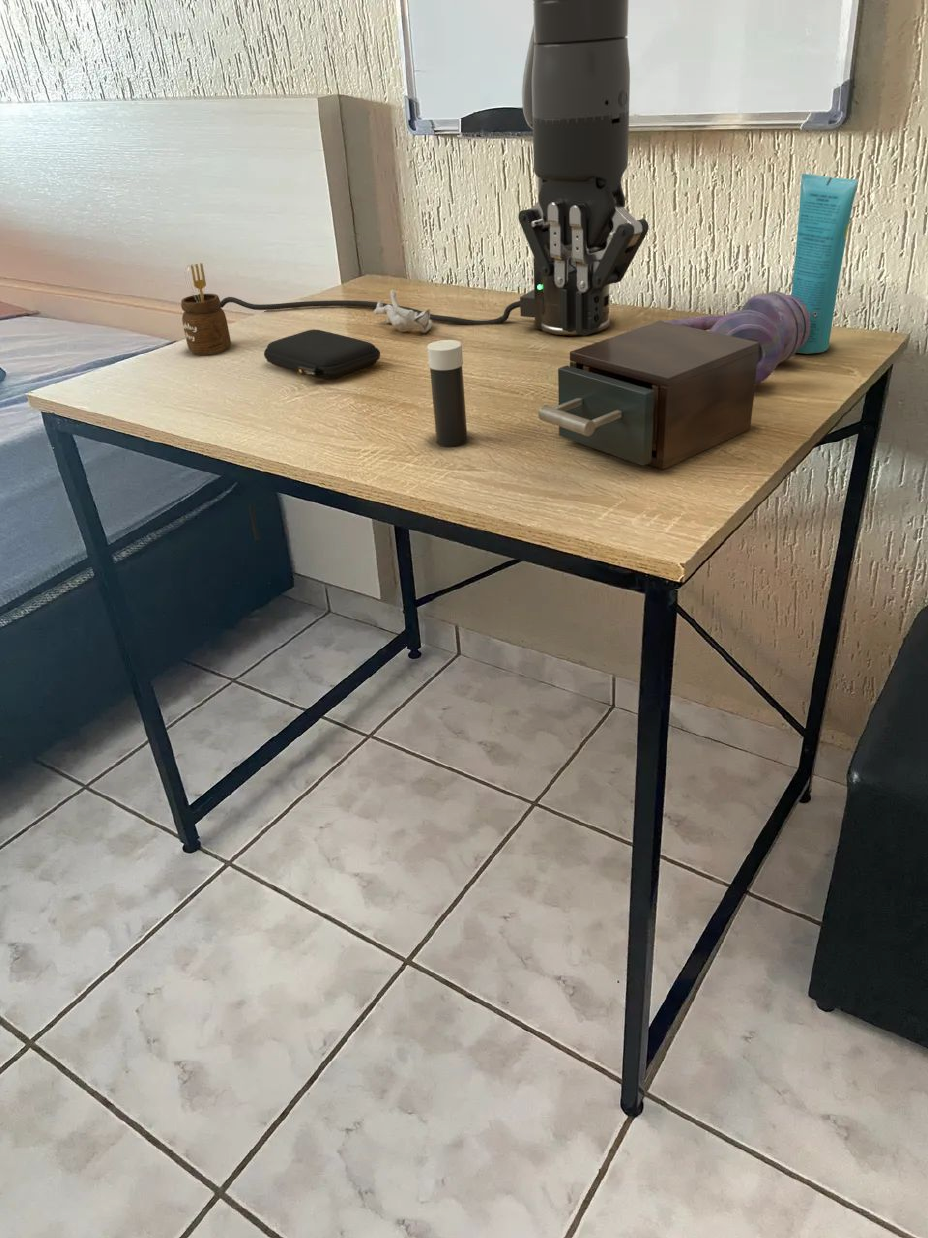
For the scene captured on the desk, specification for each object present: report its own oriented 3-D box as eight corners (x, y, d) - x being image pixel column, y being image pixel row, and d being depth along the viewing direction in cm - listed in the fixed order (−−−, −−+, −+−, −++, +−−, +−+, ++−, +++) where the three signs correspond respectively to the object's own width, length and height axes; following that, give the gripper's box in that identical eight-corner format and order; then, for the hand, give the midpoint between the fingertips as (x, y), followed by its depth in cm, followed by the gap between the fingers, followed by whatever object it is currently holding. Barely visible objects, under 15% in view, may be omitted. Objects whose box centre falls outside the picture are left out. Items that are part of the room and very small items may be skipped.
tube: (845, 349, 113) (871, 175, 103) (821, 359, 111) (846, 181, 100) (791, 338, 118) (811, 170, 108) (768, 347, 116) (786, 177, 105)
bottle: (429, 444, 97) (420, 348, 92) (446, 432, 100) (438, 338, 94) (457, 449, 96) (450, 351, 90) (474, 437, 98) (468, 341, 93)
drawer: (604, 483, 84) (605, 409, 81) (521, 450, 92) (518, 381, 88) (725, 428, 93) (731, 359, 89) (639, 402, 100) (642, 338, 97)
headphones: (822, 350, 111) (666, 356, 123) (820, 278, 108) (659, 291, 119) (766, 400, 99) (599, 401, 111) (762, 321, 95) (589, 330, 107)
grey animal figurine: (410, 324, 139) (457, 311, 129) (398, 353, 138) (443, 342, 128) (369, 293, 134) (414, 277, 125) (356, 322, 134) (400, 309, 124)
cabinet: (663, 469, 88) (668, 378, 83) (570, 436, 96) (569, 351, 92) (750, 429, 95) (759, 342, 90) (656, 401, 103) (660, 320, 98)
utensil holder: (226, 340, 135) (208, 252, 128) (237, 351, 130) (218, 260, 123) (185, 348, 133) (164, 259, 126) (194, 359, 128) (173, 267, 121)
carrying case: (252, 367, 123) (322, 389, 114) (248, 344, 121) (318, 364, 112) (317, 346, 129) (388, 365, 120) (313, 324, 127) (385, 341, 118)
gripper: (487, 112, 76) (497, 327, 86) (611, 116, 67) (607, 357, 76) (554, 101, 80) (556, 309, 89) (680, 104, 71) (668, 335, 80)
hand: (580, 330), depth 83 cm, fingers closed
